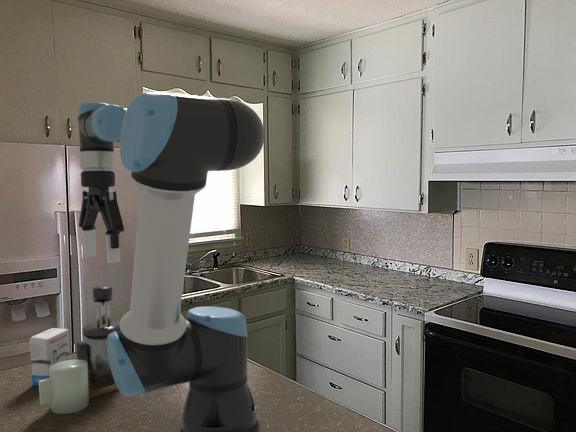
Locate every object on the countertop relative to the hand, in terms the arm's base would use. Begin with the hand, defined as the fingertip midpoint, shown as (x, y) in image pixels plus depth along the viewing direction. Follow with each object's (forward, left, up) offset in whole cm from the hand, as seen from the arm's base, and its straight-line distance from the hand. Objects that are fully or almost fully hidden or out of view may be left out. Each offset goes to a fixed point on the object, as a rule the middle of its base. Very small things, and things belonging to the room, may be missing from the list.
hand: (101, 259), depth 117 cm
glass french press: (0, 0, -30) cm, 30 cm away
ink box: (+11, +9, -30) cm, 34 cm away
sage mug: (-7, +12, -30) cm, 33 cm away
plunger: (0, 0, -16) cm, 16 cm away
